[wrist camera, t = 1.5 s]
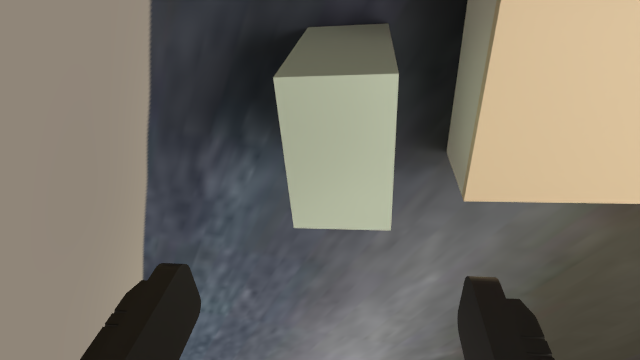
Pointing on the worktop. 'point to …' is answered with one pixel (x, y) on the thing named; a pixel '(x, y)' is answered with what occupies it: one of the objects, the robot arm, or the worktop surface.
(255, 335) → the worktop surface
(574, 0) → the podium
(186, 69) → the worktop surface
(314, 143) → the sage carton
